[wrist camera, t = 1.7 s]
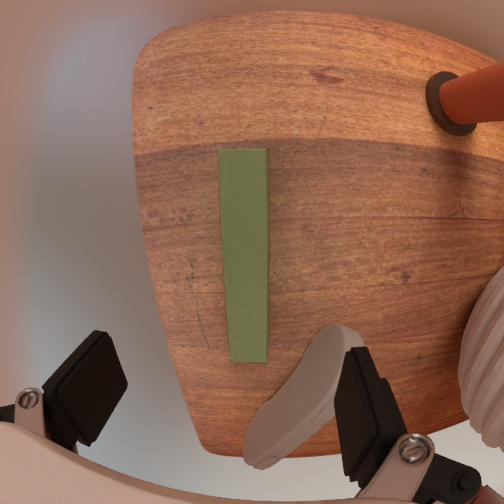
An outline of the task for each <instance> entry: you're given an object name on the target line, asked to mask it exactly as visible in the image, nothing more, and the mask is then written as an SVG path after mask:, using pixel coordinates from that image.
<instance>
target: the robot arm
mask: <svg viewBox="0 0 504 504" xmlns="http://www.w3.org/2000/svg"><path fill="white" fill-rule="evenodd" d="M127 385H128V383H127V380H126V377H125V375H124V372H123V369H122V367H121V364H120V361H119V358H118V356H117V353H116V350H115V347H114V344H113V341H112V338H111V337H110V336H109V334H108V333H107V332H103V331H98V330H94V331H93V332H92V333H91V334H90V335H89V336H88V337H87V338H86V339H85V340H84V341H83V342H82V343H81V344H80V345H79V346H78V347H77V349H76V350H75V351H74V352H73V353H72V354H71V355H70V356H69V357H68V358H67V359H66V360H65V361H64V362H63V364H62V365H61V366H60V367H59V368H58V369H57V370H56V371H55V372H54V373H53V374H52V376H51V377H50V378H49V379H48V380H47V381H46V382H45V384H44V385H43V386H42V389H43V390H44V393H43V394H42V393H41V391H40V390H38V389H37V388H27V389H24V390H23V391H21V392H20V393H19V394H18V396H17V397H16V401H15V404H12V405H8V406H4V407H0V504H504V498H503V497H502V496H501V495H499V494H498V493H497V492H496V491H494V490H493V489H492V488H490V487H489V486H488V485H486V486H482V485H481V483H482V482H481V476H480V473H479V472H478V471H477V470H476V469H474V468H472V467H470V466H467V465H464V464H461V463H459V462H456V461H454V460H451V459H448V458H446V457H444V456H441V455H439V454H436V453H434V452H435V447H434V443H433V442H432V440H431V439H430V438H429V437H428V436H427V435H425V434H423V433H419V432H410V433H408V432H407V429H406V426H405V423H404V421H403V418H402V415H401V413H400V410H399V408H398V405H397V402H396V400H395V397H394V395H393V392H392V390H391V388H390V385H389V383H388V381H387V379H385V378H380V377H379V375H378V372H377V370H376V367H375V365H374V362H373V360H372V358H371V355H370V353H369V350H368V348H367V347H366V346H361V347H351V349H350V351H346V353H345V356H344V361H343V365H342V370H341V374H340V378H339V382H338V386H337V390H336V394H335V397H334V410H335V416H336V422H337V428H338V434H339V441H340V447H341V454H342V461H343V469H344V474H345V476H349V478H350V482H354V481H358V485H359V487H360V488H361V489H360V491H359V492H358V493H357V494H356V496H355V497H354V498H348V499H336V500H319V501H296V502H280V501H279V502H278V501H277V502H276V501H252V500H240V499H239V500H238V499H230V498H222V497H214V496H208V495H202V494H196V493H191V492H186V491H182V490H177V489H173V488H168V487H165V486H161V485H157V484H154V483H150V482H147V481H144V480H140V479H137V478H134V477H131V476H128V475H125V474H122V473H120V472H117V471H114V470H112V469H109V468H107V467H104V466H102V465H100V464H97V463H95V462H93V461H90V460H88V459H86V458H84V457H82V456H80V455H78V451H77V447H76V442H77V441H79V442H80V443H82V444H84V445H86V446H88V447H90V445H91V443H92V442H94V441H96V439H97V438H98V436H99V434H100V432H101V431H102V429H103V427H104V426H105V424H106V422H107V420H108V419H109V417H110V416H111V414H112V412H113V411H114V409H115V407H116V406H117V404H118V402H119V401H120V399H121V397H122V396H123V394H124V392H125V391H126V389H127Z"/></svg>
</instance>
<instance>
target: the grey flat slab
mask: <svg viewBox="0 0 504 504" xmlns="http://www.w3.org/2000/svg"><path fill="white" fill-rule="evenodd" d="M361 346H365V345H364V341H363V339H362V337H361V335H360V334H359V333H358V332H357V331H356V330H354V329H351V328H349V327H347V326H344V325H342V324H339V323H331V324H328V325H326V326H325V327H323V328H322V329H321V330H320V331H319V332H318V333H317V334H316V335H315V336H314V338H313V339H312V340H311V342H310V344H309V345H308V347H307V349H306V350H305V352H304V354H303V356H302V359H301V361H300V363H299V365H298V366H297V368H296V369H295V370H294V372H293V373H292V374H291V376H290V377H289V378H288V379H287V381H286V382H285V383H284V384H283V386H282V387H281V388H280V389H279V390H278V392H277V393H276V394H275V395H274V396H273V398H272V399H271V400H269V401H266V402H265V403H263V404H262V405H261V406H260V407H259V409H258V410H257V411H256V413H255V415H254V416H253V418H252V420H251V422H250V425H249V427H248V430H247V433H246V436H245V440H244V445H243V458H244V461H245V463H247V464H248V465H251V466H254V468H256V469H261V470H263V469H266V468H269V467H271V466H272V465H274V464H276V463H277V462H278V461H280V460H281V459H283V458H284V457H285V456H287V455H288V454H289V453H291V452H292V451H293V450H295V449H296V448H297V447H299V446H300V445H301V444H302V443H304V442H305V441H306V440H307V439H309V438H310V437H311V436H312V435H313V434H314V433H316V432H317V431H318V430H319V429H320V428H321V427H323V426H324V425H325V424H326V423H327V422H328V421H329V420H330V419H331V418H332V417H333V416H335V410H334V397H335V394H336V390H337V386H338V382H339V378H340V374H341V370H342V365H343V361H344V356H345V353H346V351H350V349H351V347H361Z"/></svg>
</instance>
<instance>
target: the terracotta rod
mask: <svg viewBox="0 0 504 504" xmlns="http://www.w3.org/2000/svg"><path fill="white" fill-rule="evenodd" d="M426 100H427V104H428V107H429V110H430V112H431V114H432V116H433V118H434V119H435V121H436V122H437V123H438V125H439V126H440V127H441V128H442V129H444V130H445V131H446V132H448V133H450V134H452V135H455V136H465V135H468V134H470V133H472V132H473V130H474V129H475V128H476V125H477V123H482V122H495V121H504V63H500V64H497V65H493V66H490V67H487V68H484V69H481V70H478V71H475V72H472V73H469V74H466V75H463V76H461V77H459V76H457V75H455V74H453V73H451V72H446V71H442V72H439V73H437V74H435V75H433V76H432V77H431V78H430V79H429V80H428V83H427V86H426Z"/></svg>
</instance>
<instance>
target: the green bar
mask: <svg viewBox="0 0 504 504" xmlns="http://www.w3.org/2000/svg"><path fill="white" fill-rule="evenodd" d="M218 163H219V192H220V215H221V236H222V254H223V271H224V286H225V300H226V314H227V327H228V339H229V351H230V361H234V362H254V363H267V358H268V342H269V272H270V228H269V152H268V150H267V149H266V148H252V149H225V150H218Z"/></svg>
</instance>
